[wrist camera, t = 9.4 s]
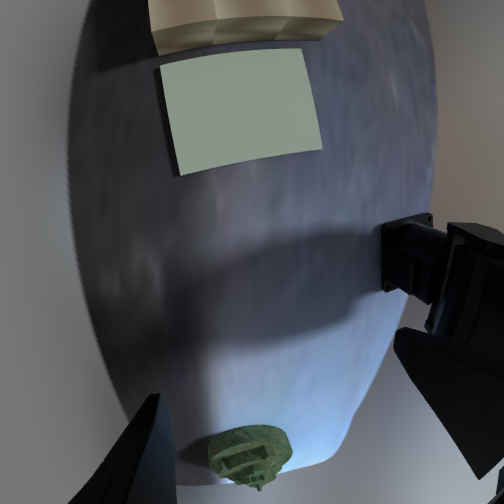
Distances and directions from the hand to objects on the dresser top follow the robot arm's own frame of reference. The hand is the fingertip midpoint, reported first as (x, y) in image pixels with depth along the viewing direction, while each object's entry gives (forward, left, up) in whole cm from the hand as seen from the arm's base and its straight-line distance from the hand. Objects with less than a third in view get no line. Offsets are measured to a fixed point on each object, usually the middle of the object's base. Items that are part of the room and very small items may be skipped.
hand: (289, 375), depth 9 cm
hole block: (-4, -22, -12) cm, 25 cm away
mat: (-3, -11, -12) cm, 16 cm away
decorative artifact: (+4, +24, -12) cm, 27 cm away
